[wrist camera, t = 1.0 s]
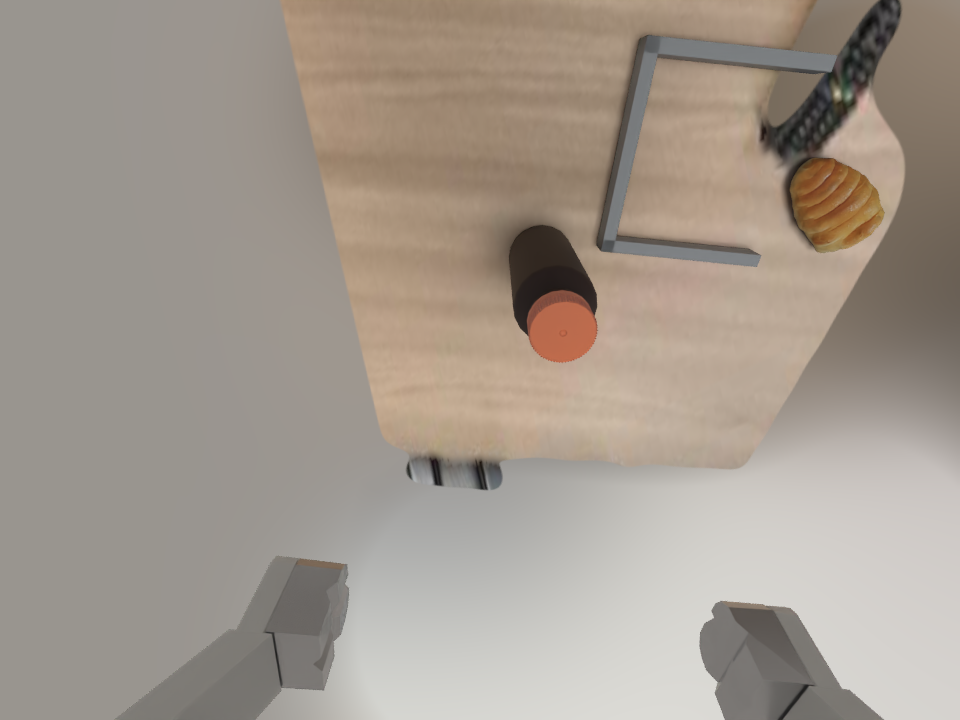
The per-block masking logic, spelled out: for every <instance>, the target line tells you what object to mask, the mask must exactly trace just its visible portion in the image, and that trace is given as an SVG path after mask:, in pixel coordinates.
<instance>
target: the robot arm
mask: <svg viewBox="0 0 960 720" xmlns="http://www.w3.org/2000/svg"><path fill="white" fill-rule="evenodd" d="M347 576H348V568H347V564H341V563H333V562H325V561H317V560H307V559H301V558H292V557H282V556H276V557H275V559H274V560H273V561H272V562H271V563H270V565H269V567H268V569H267V571H266V573H265V574H264V576H263V578H262V581H261V582H260V584H259V586H258V588H257V590H256V592H255V594H254V596H253V598H252V600H251V602H250V604H249V606H248V608H247V610H246V612H245V614H244V616H243V618H242V620H241V622H240V624H239V626H238V628H237V630H231V629H229V630H228V631H226V632H225V633H224V634H223V635H221V636H220V637H219V638H218V639H216V640H215V641H214V642H212V643H211V644H210V645H209V646H207V647H206V648H205V649H204V650H202V651H201V652H200V653H198V654H197V655H196V656H195V657H193V658H192V659H191V660H190V661H188V662H187V663H186V664H184V665H183V666H182V667H181V668H179V669H178V670H177V671H176V672H174V673H173V674H172V675H170V676H169V677H168V678H167V679H165V680H164V681H163V682H162V683H161V684H159V685H158V686H157V687H155V688H154V689H153V690H151V691H150V692H149V693H148V694H146V695H145V696H144V697H143V698H141V699H140V700H139V701H138V702H136V703H135V704H134V705H132V706H131V707H130V708H129V709H127V710H126V711H125V712H124V713H122V714H121V715H120V716H118V717H117V718H116V719H115V720H255V719H256V718H257V717H258V716H259V715H260V714H261V713H262V712H263V710H264V709H265V708H266V707H267V706H268V705H269V704H270V703H271V702H272V700H273V699H274V698H275V697H276V696H277V695H278V694H279V693H280V692H281V688H295V689H312V690H324V688H325V685H326V682H327V679H328V675H329V672H330V669H331V666H332V662H333V659H334V640H336V639H337V638H338V637H339V636H340V635H341V632H342V629H343V625H344V622H345V618H346V612H347V608H348V598H349V588H348V587H347V586H346V585H345V582H346V579H347ZM712 613H713V615H714V619H712V620H710V621H708V622H706V623H705V624H704V626H703V628H702V630H701V632H700V650H701V656H702V659H703V662H704V665H705V668H706V670H707V671H708V672H709V673H710V675H711V676H712V677H713V678H714V679H715V680H716V681H717V682H718V683H717V687H716V691H715V695H716V697H717V700H718V703H719V705H720V708H721V710H722V713H723V716H724V718H725V720H884V719H882V718H881V717H880V716H879V715H878V714H877V713H875V712H874V711H873V710H872V709H871V708H870V707H868V706H867V705H866V704H865V703H864V702H863V701H861V700H860V699H859V698H858V697H857V696H856V695H855V694H853V693H852V692H851V691H850V690H846V689H842V688H841V686H840V685H839V683H838V682H837V680H836V678H835V676H834V675H833V673H832V671H831V670H830V668H829V666H828V665H827V663H826V661H825V660H824V658H823V656H822V655H821V653H820V652H819V650H818V648H817V647H816V645H815V644H814V642H813V640H812V638H811V637H810V635H809V634H808V632H807V630H806V629H805V627H804V625H803V623H802V622H801V620H800V618H799V617H798V615H797V614H796V613H795V612H794V611H793V610H792V609H791V608H786V607H777V606H765V605H763V604H750V603H739V602H727V601H720V602H718V603H716V604H715V606H714V607H713V609H712Z"/></svg>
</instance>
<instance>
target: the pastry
mask: <svg viewBox="0 0 960 720" xmlns="http://www.w3.org/2000/svg"><path fill="white" fill-rule="evenodd" d="M790 193H791V199H792V208H793V210H794V217H795V218H796V220H797V224H798V227H799V228H800V229H801V230H803V231H804V233H805V234H806V236H807V238H808V239H809V240H810V241H811V243H812V244H813V246H814V248H815V250H816V251H817V252H819V253H826V252H834V251H837V250H839V249H846V248H849V247H852V246H854V245H855V244H857V243H859V242H860V241H862V240H864V239H865V238H867V237H868V236H870V235H871V234H872V233H873V232H874V230H875V229H876V228H877V227H878V226H879V225H880V224H881V222H882V220H883V217H884V213H885V212H884V211H883V208H882V207H881V204H880V199H879V194H878V191H877V189H876V188H875V187H874V186H873V185H872V184H870V182H869V180H868V179H867V177H866V176H864V175H862V174H861V173H860V172H859V171H856V170H854V169H852V168H851V167H849V166H846V165H844V164H842V163H840V162H837V161H836V160H835V159H833V158H812V159H809V160H808V161H807V162H805V163H804V164H803V165H802V166H801V167H800V168H799V169H798V170H797V172H796V173H795V175H794V177H793V179H792V181H791V186H790Z"/></svg>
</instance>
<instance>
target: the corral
mask: <svg viewBox="0 0 960 720" xmlns="http://www.w3.org/2000/svg"><path fill="white" fill-rule="evenodd" d="M657 57H658V58H667V59H677V60H686V61H696V62H705V63H714V64H724V65H733V66H743V67H752V68H761V69H771V70H780V71H790V72H799V73H809V74H818V73H827V72H831V71H832V68H833V66H834V63H835V60H836V58H837V55H829V54H820V53H810V52H801V51H792V50H782V49H773V48H764V47H755V46H745V45H736V44H727V43H717V42H708V41H699V40H689V39H680V38H671V37H661V36H652V35H647V36H645V37H643V38H641V39H640V40H639V45H638V49H637V54H636V59H635V64H634V69H633V73H632V78H631V83H630V88H629V92H628V97H627V102H626V107H625V111H624V116H623V121H622V126H621V130H620V135H619V140H618V145H617V149H616V154H615V159H614V164H613V169H612V173H611V178H610V183H609V188H608V192H607V197H606V202H605V207H604V211H603V216H602V221H601V226H600V230H599V235H598V240H597V247H598V248H599V249H600V251H603V252H613V253H623V254H633V255H643V256H653V257H663V258H673V259H683V260H693V261H703V262H713V263H723V264H733V265H743V266H753V267H757V265H758V263H759V260H760V257H761V255H759V254H758V253H756V252H754V251H752V250H750V249H744V248H734V247H724V246H714V245H704V244H694V243H684V242H674V241H664V240H654V239H644V238H634V237H624V236H616V235H617V231H618V227H619V222H620V218H621V213H622V209H623V205H624V200H625V196H626V191H627V187H628V183H629V178H630V174H631V170H632V165H633V161H634V156H635V152H636V148H637V143H638V139H639V134H640V130H641V126H642V121H643V117H644V113H645V108H646V104H647V99H648V95H649V91H650V86H651V82H652V77H653V73H654V69H655V64H656V60H657Z"/></svg>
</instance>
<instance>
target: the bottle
mask: <svg viewBox="0 0 960 720" xmlns="http://www.w3.org/2000/svg"><path fill="white" fill-rule="evenodd" d="M509 263H510V275H511V287H512V299H513V309H514V316H515V319H516V321H517V323H518V325H519V327H520V329H522V330H523V331H524V332H525V333H526V334H527V335H528V336H529V340H530V343H531V345H532V347H533V349H535V352H537V353H539V355H541V357H543V358H546V359H548V361H549V360H550V361H554V362H555V361H556V362H559V363H560V362H562V363H563V362H565V363H566V362H567V361H568V362H569V361H572V360H574V359H577V358H580V357H582V355H584V354H585V353H587V351H589V349H591V348H590V347H592V344H594V342H595V339H596V337H597V335H596V334H597V331H598V330H597V322H596V319H595V312H596V309H597V294H596V292H595V289H594V287H593V284H592V282H591V280H590V278H589V277H588V275H587V273H586V271H585V269H584V268H583V266H582V264H581V262H580V260H579V259H578V257H577V255H576V253H575V251H574V250H573V248H572V246H571V244H570V242H569V241H568V239H567V238H566V237H565V236H564V235H563V233H562V232H560V231H559V230H557V229H555V228H553V227H548V226H543V225H542V226H536V227H531V228H529V229H527V230H525V231H523V232H522V233H521V234H520V235H519V236H518V237H517V238H516V239H515V241H514V243H513V245H512V246H511V250H510V255H509Z"/></svg>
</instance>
